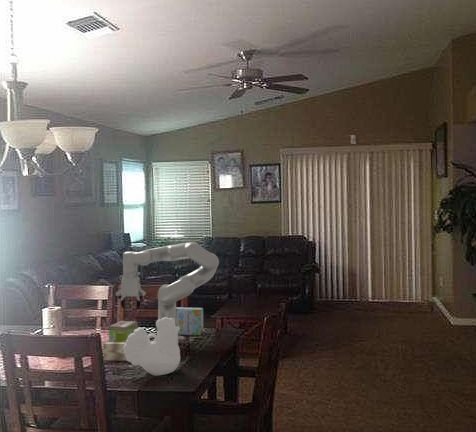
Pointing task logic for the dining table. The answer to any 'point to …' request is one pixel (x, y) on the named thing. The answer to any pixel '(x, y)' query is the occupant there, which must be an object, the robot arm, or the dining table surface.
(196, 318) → the snack box
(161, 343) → the decorative rooster
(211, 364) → the dining table surface
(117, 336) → the tea box
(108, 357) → the maple board
